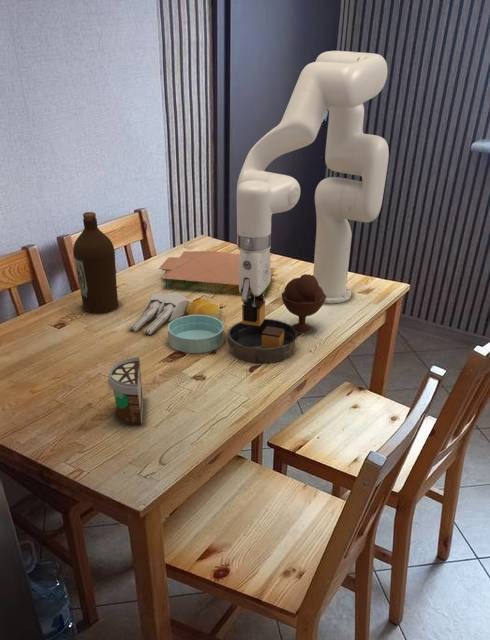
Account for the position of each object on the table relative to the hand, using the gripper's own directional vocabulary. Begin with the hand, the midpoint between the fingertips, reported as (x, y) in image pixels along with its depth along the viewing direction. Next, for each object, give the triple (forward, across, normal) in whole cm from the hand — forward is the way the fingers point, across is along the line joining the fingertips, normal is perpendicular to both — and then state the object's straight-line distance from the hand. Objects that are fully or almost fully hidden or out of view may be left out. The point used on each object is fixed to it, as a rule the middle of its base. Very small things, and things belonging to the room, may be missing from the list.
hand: (253, 316), depth 159 cm
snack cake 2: (+8, -1, -5) cm, 9 cm away
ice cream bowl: (+9, +13, -9) cm, 18 cm away
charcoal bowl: (+8, -1, -2) cm, 8 cm away
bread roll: (+8, +12, +18) cm, 24 cm away
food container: (+7, -38, +15) cm, 41 cm away
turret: (+8, +6, +28) cm, 30 cm away
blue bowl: (+8, -3, +14) cm, 16 cm away
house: (+9, +38, +24) cm, 46 cm away
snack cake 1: (+1, 0, 0) cm, 1 cm away
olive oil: (+8, +8, +47) cm, 49 cm away
